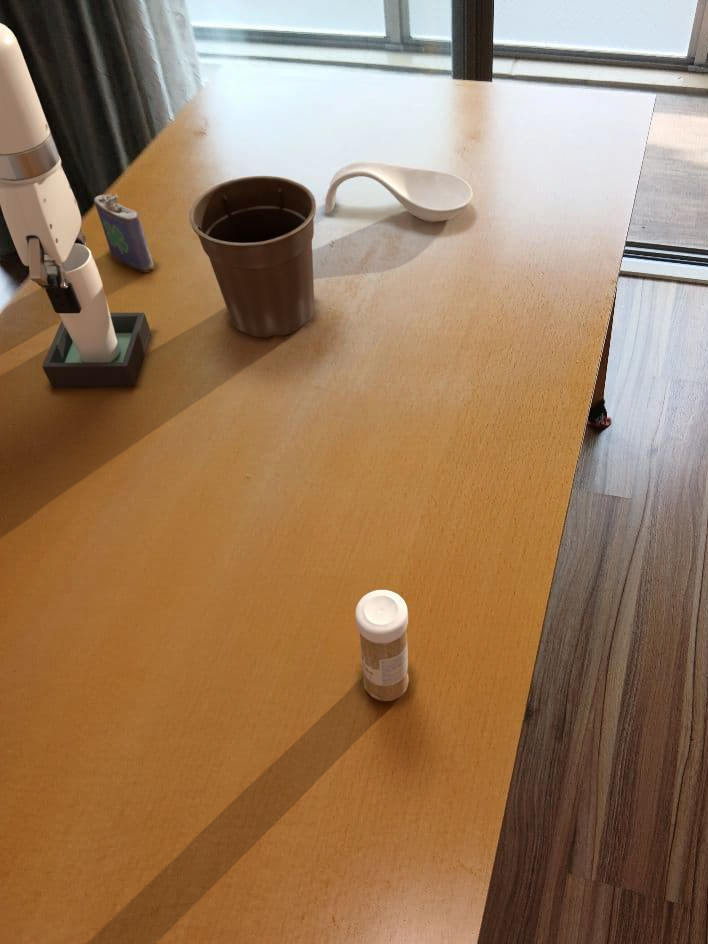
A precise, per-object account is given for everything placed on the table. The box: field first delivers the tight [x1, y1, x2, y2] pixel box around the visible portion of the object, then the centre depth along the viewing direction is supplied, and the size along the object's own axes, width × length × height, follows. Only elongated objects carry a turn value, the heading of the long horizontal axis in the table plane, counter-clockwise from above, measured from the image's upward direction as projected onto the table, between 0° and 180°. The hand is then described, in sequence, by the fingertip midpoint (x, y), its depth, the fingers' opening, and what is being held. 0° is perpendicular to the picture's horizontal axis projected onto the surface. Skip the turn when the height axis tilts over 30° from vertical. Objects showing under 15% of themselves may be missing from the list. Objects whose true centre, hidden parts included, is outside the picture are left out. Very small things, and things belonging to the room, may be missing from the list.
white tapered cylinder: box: [44, 243, 120, 363], centre depth 105 cm, size 7×7×15 cm
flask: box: [93, 193, 155, 273], centre depth 121 cm, size 9×3×11 cm, turn 50°
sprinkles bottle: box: [355, 589, 410, 702], centre depth 75 cm, size 5×5×13 cm
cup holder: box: [41, 312, 152, 388], centre depth 110 cm, size 11×11×4 cm
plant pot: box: [188, 175, 317, 339], centre depth 110 cm, size 16×16×16 cm
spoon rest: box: [324, 161, 474, 223], centre depth 129 cm, size 24×12×7 cm, turn 85°
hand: (76, 292), depth 103 cm, fingers closed on white tapered cylinder, 6 cm apart
